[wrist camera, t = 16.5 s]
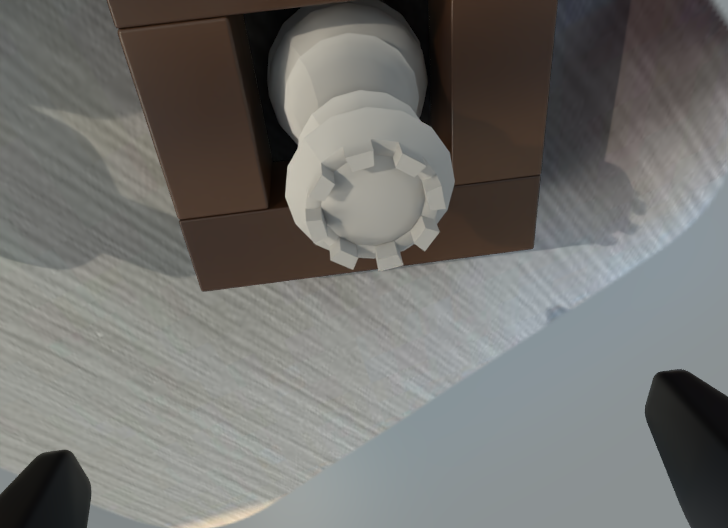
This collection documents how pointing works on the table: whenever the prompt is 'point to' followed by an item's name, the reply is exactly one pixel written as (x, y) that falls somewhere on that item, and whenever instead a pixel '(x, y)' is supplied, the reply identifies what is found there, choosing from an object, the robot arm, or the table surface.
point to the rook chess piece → (358, 132)
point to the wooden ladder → (268, 179)
